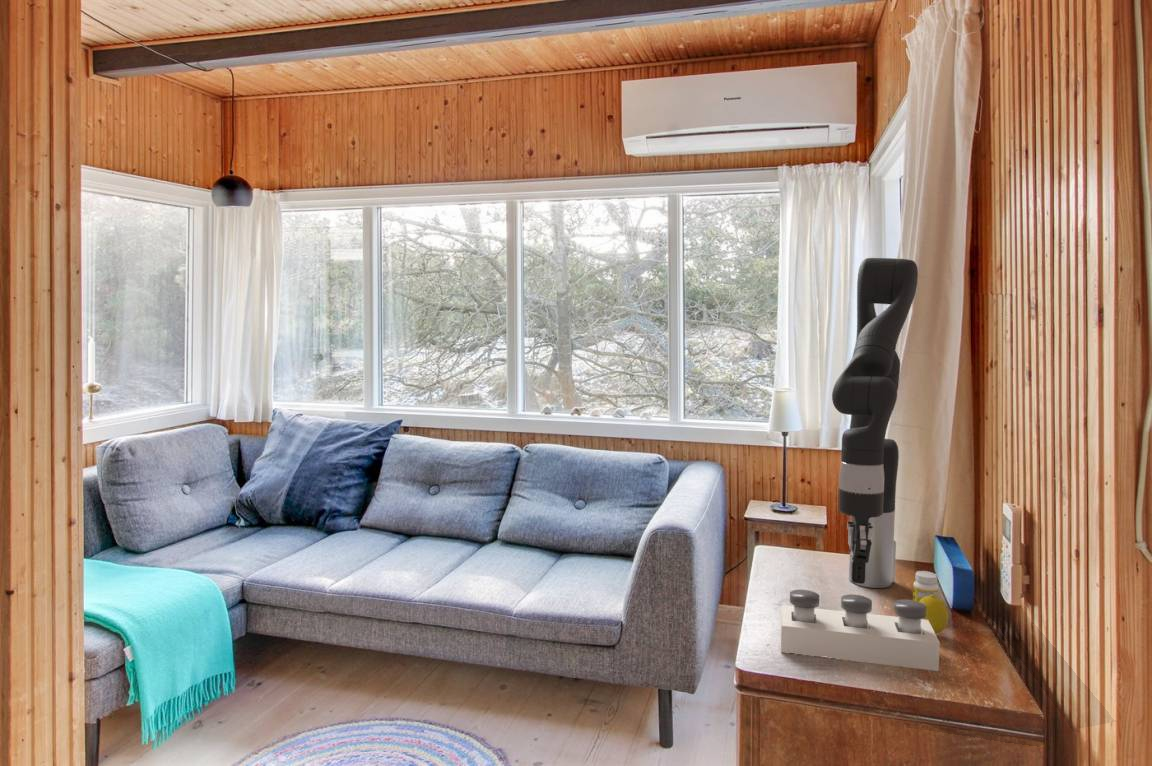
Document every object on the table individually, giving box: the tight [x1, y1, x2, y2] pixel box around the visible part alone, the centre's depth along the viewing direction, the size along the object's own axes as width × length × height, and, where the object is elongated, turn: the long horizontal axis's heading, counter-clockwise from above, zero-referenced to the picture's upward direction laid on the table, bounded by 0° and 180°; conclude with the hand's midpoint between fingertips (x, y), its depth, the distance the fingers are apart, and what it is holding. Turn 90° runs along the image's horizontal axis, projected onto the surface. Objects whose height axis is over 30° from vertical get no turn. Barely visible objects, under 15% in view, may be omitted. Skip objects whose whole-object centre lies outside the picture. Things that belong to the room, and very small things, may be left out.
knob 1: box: [789, 589, 820, 623], centre depth 135 cm, size 5×5×6 cm
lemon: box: [919, 595, 949, 635], centre depth 139 cm, size 6×6×8 cm
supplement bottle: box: [912, 570, 940, 602], centre depth 149 cm, size 5×5×8 cm
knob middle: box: [840, 594, 873, 629], centre depth 133 cm, size 5×5×6 cm
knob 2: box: [893, 598, 926, 634], centre depth 130 cm, size 5×5×6 cm
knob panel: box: [780, 604, 941, 672], centre depth 133 cm, size 26×10×5 cm, turn 75°
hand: (857, 581), depth 132 cm, fingers closed
